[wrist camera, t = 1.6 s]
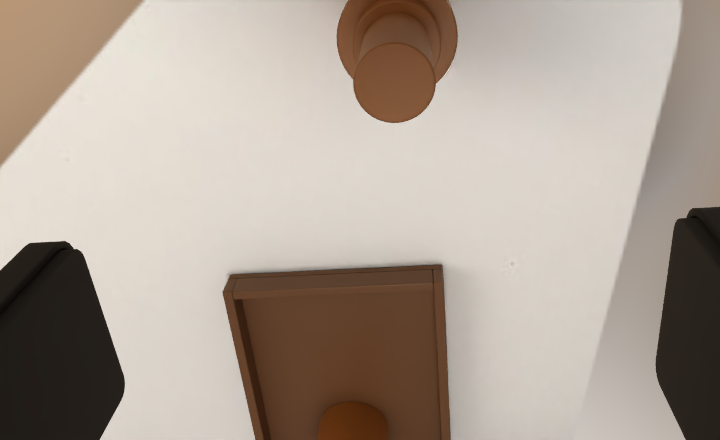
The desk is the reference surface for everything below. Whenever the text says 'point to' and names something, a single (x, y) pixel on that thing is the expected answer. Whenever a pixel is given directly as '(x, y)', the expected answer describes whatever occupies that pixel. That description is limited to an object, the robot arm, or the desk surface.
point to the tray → (342, 348)
